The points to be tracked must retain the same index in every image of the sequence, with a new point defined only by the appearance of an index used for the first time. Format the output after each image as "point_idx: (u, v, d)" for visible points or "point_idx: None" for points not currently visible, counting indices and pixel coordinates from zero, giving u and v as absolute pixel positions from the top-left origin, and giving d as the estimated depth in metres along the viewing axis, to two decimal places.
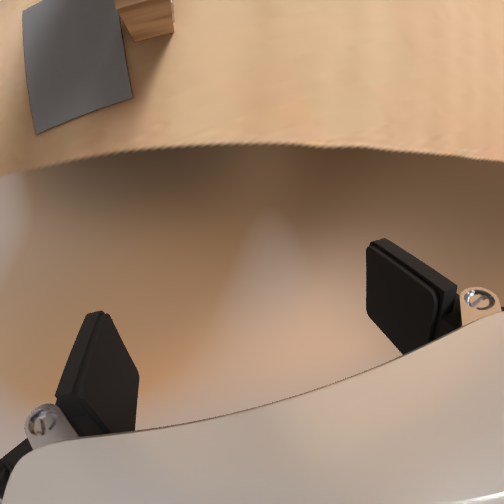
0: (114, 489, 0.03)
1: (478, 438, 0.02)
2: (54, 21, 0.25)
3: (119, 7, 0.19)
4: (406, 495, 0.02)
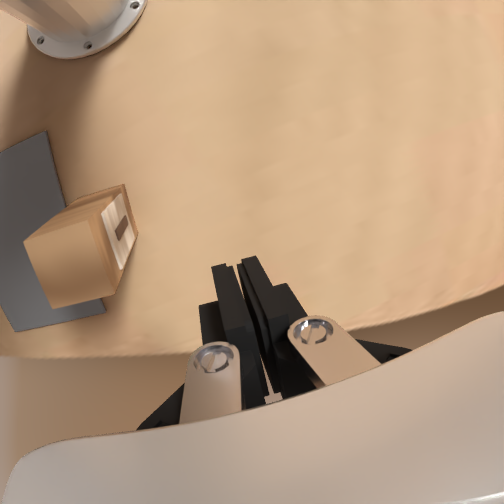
0: (114, 489, 0.03)
1: (478, 438, 0.02)
2: None
3: (56, 306, 0.18)
4: (405, 496, 0.02)
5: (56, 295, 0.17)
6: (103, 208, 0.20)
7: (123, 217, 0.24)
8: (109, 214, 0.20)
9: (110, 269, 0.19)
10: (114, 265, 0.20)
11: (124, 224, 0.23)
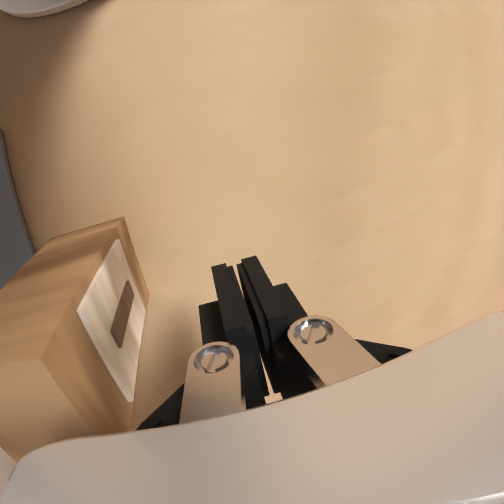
0: (114, 489, 0.03)
1: (478, 438, 0.02)
2: None
3: None
4: (405, 496, 0.02)
5: (21, 454, 0.07)
6: (82, 292, 0.09)
7: (124, 287, 0.13)
8: (96, 302, 0.10)
9: (113, 425, 0.08)
10: (118, 406, 0.09)
11: (126, 304, 0.12)
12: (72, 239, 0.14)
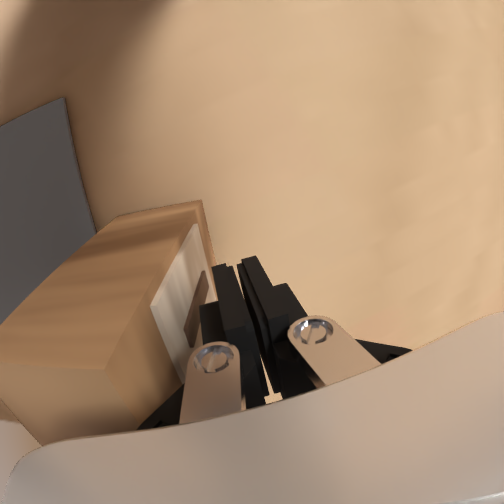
0: (114, 489, 0.03)
1: (478, 438, 0.02)
2: None
3: None
4: (406, 496, 0.02)
5: None
6: (157, 283, 0.09)
7: (200, 278, 0.13)
8: (171, 296, 0.09)
9: None
10: None
11: (201, 297, 0.12)
12: (142, 219, 0.15)
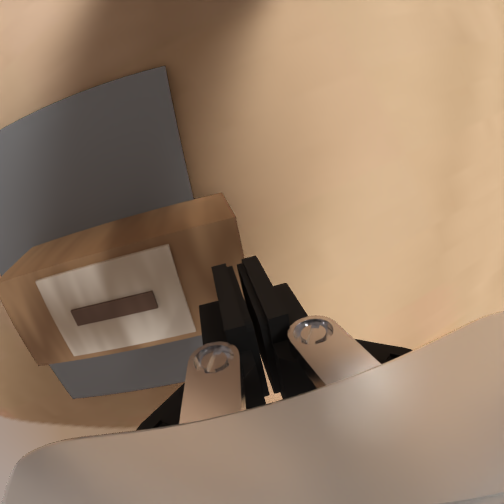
0: (114, 489, 0.03)
1: (478, 438, 0.02)
2: (36, 197, 0.14)
3: None
4: (405, 496, 0.02)
5: None
6: (51, 272, 0.11)
7: (136, 294, 0.12)
8: (59, 285, 0.11)
9: (40, 345, 0.12)
10: (56, 345, 0.13)
11: (121, 307, 0.12)
12: (189, 211, 0.14)
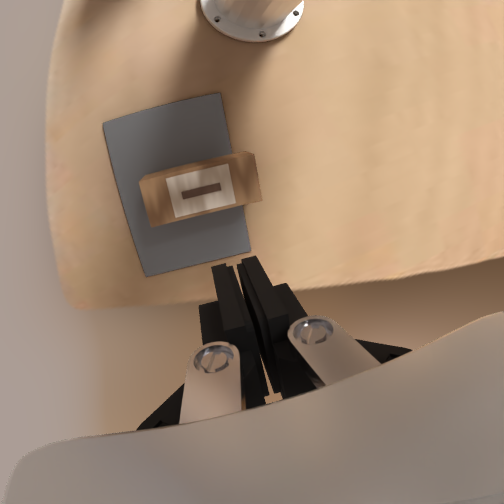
0: (114, 489, 0.03)
1: (478, 438, 0.02)
2: (152, 149, 0.33)
3: None
4: (405, 496, 0.02)
5: None
6: (174, 174, 0.30)
7: (213, 184, 0.31)
8: (178, 180, 0.30)
9: (157, 213, 0.31)
10: (166, 213, 0.31)
11: (205, 189, 0.31)
12: (232, 155, 0.33)
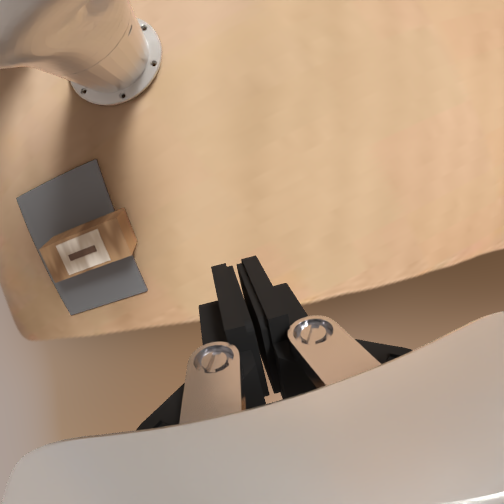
0: (114, 489, 0.03)
1: (478, 438, 0.02)
2: (53, 215, 0.37)
3: None
4: (405, 496, 0.02)
5: None
6: (61, 242, 0.34)
7: (89, 246, 0.34)
8: (64, 246, 0.34)
9: (56, 272, 0.35)
10: (62, 271, 0.35)
11: (84, 252, 0.34)
12: (108, 216, 0.36)
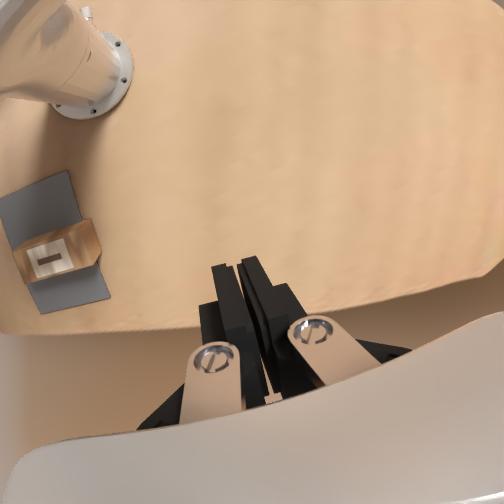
0: (114, 489, 0.03)
1: (478, 438, 0.02)
2: (27, 220, 0.37)
3: None
4: (405, 496, 0.02)
5: None
6: (31, 247, 0.34)
7: (55, 254, 0.35)
8: (33, 251, 0.34)
9: (26, 275, 0.35)
10: (32, 274, 0.35)
11: (51, 258, 0.35)
12: (75, 226, 0.37)
